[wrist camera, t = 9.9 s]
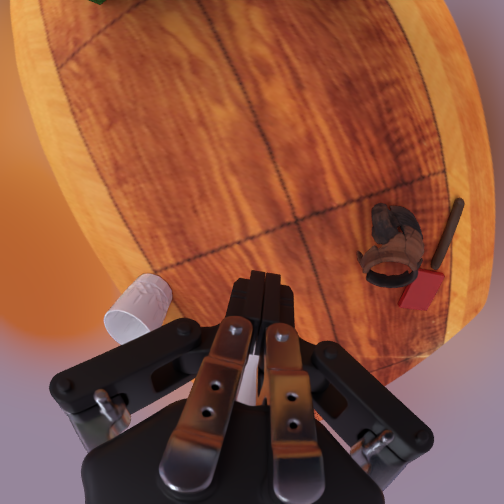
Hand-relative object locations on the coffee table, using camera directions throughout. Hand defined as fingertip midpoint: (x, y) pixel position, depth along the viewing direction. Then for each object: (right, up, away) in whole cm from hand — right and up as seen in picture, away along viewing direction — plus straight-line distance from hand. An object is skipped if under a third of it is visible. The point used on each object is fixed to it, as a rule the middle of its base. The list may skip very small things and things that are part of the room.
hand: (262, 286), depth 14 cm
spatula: (+27, +1, +20) cm, 34 cm away
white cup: (-16, -4, +28) cm, 33 cm away
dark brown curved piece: (+17, +5, +19) cm, 26 cm away
